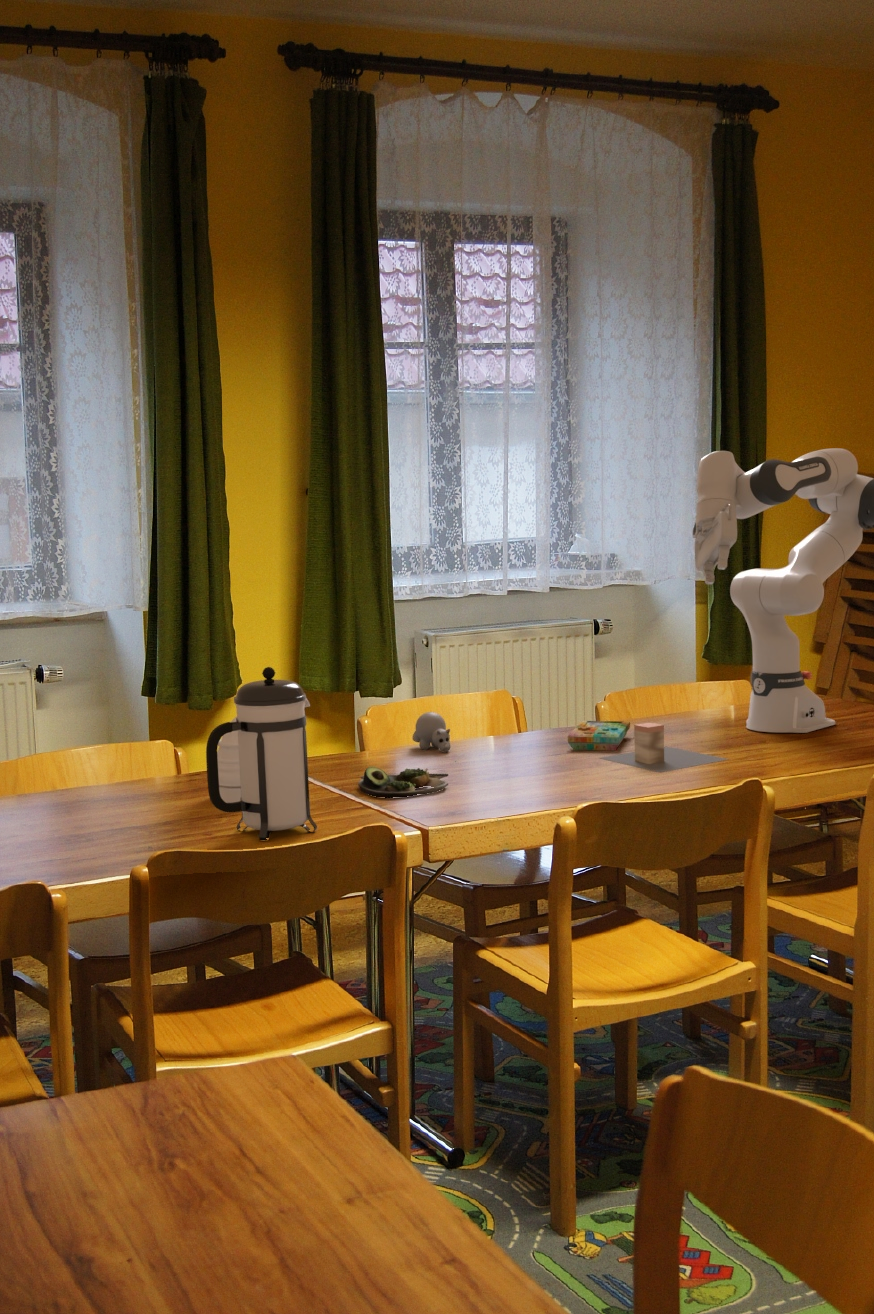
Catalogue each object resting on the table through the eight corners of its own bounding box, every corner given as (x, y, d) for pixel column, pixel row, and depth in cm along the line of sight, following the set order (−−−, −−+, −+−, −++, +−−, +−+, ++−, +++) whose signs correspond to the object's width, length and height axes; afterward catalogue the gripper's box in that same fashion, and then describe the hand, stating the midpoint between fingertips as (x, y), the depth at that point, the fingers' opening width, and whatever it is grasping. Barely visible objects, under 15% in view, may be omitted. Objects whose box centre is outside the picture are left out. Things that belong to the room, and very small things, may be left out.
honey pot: (287, 792, 265) (283, 705, 263) (254, 806, 254) (249, 716, 251) (234, 788, 270) (229, 703, 268) (199, 802, 259) (194, 713, 257)
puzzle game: (567, 732, 296) (581, 717, 316) (568, 752, 297) (582, 736, 316) (618, 733, 293) (629, 718, 312) (619, 753, 294) (630, 737, 313)
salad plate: (432, 775, 278) (431, 754, 277) (469, 791, 262) (468, 769, 261) (348, 786, 270) (347, 765, 269) (380, 803, 254) (379, 780, 253)
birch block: (650, 758, 285) (649, 722, 284) (664, 761, 281) (663, 725, 280) (634, 761, 282) (634, 724, 281) (648, 764, 278) (648, 727, 278)
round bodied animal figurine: (431, 765, 300) (436, 734, 296) (407, 739, 309) (412, 708, 305) (457, 760, 303) (463, 729, 300) (433, 735, 313) (438, 704, 309)
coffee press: (251, 819, 243) (242, 661, 240) (330, 822, 239) (322, 661, 235) (209, 843, 227) (199, 674, 223) (293, 847, 222) (284, 675, 218)
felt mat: (666, 747, 297) (666, 746, 297) (729, 760, 281) (729, 759, 281) (598, 759, 287) (598, 758, 287) (660, 773, 270) (660, 772, 270)
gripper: (744, 501, 281) (744, 560, 277) (716, 536, 300) (716, 592, 296) (716, 498, 281) (715, 557, 276) (690, 534, 300) (689, 590, 296)
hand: (715, 576), depth 287 cm, fingers open, 8 cm apart
